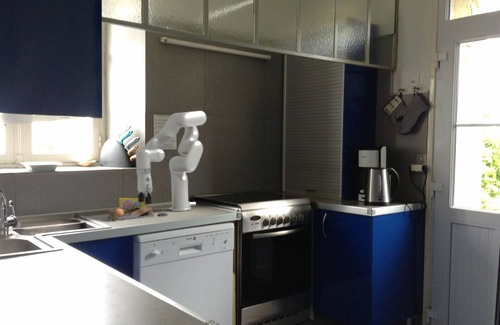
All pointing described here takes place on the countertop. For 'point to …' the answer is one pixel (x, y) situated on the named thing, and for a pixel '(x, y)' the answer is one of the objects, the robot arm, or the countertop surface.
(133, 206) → the candy box
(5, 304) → the countertop surface
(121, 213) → the ball
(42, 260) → the countertop surface
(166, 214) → the cradle
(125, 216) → the runway
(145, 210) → the ramp
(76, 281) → the countertop surface
